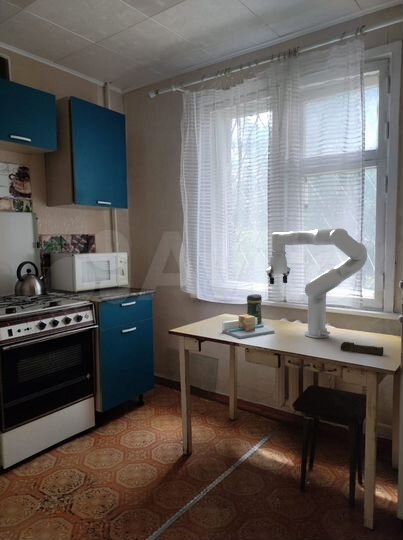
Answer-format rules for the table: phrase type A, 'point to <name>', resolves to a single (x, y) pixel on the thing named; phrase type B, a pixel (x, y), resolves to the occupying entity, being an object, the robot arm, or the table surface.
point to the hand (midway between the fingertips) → (278, 283)
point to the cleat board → (237, 332)
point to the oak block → (247, 322)
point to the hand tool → (361, 348)
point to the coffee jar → (254, 306)
